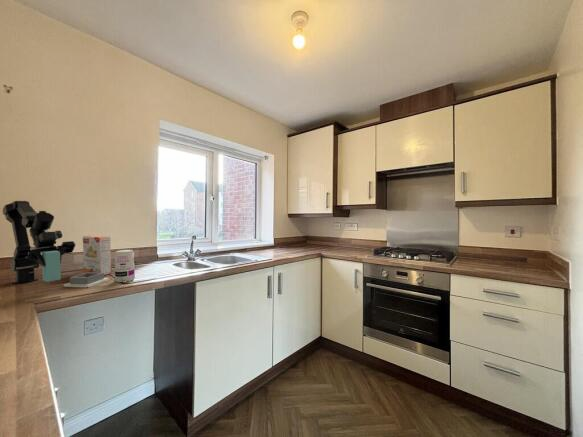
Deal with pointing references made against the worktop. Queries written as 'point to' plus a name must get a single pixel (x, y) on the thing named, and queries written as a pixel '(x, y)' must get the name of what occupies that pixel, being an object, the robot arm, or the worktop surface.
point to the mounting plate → (86, 280)
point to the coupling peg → (51, 266)
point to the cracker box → (97, 254)
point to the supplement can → (124, 265)
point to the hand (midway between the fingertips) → (52, 264)
